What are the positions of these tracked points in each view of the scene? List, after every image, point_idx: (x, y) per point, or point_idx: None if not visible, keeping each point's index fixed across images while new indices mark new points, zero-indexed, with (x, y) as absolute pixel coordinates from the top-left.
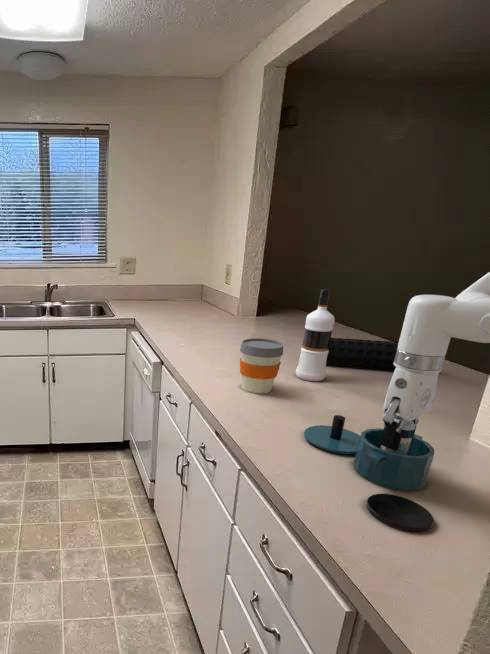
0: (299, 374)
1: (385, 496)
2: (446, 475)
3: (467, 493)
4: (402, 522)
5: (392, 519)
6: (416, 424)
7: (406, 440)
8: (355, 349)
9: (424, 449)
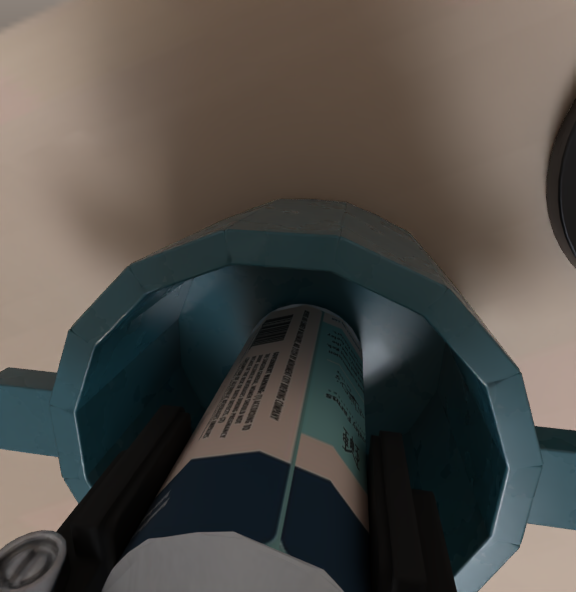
0: None
1: None
2: (78, 174)
3: (164, 31)
4: None
5: None
6: (41, 535)
7: (316, 458)
8: None
9: (136, 313)
